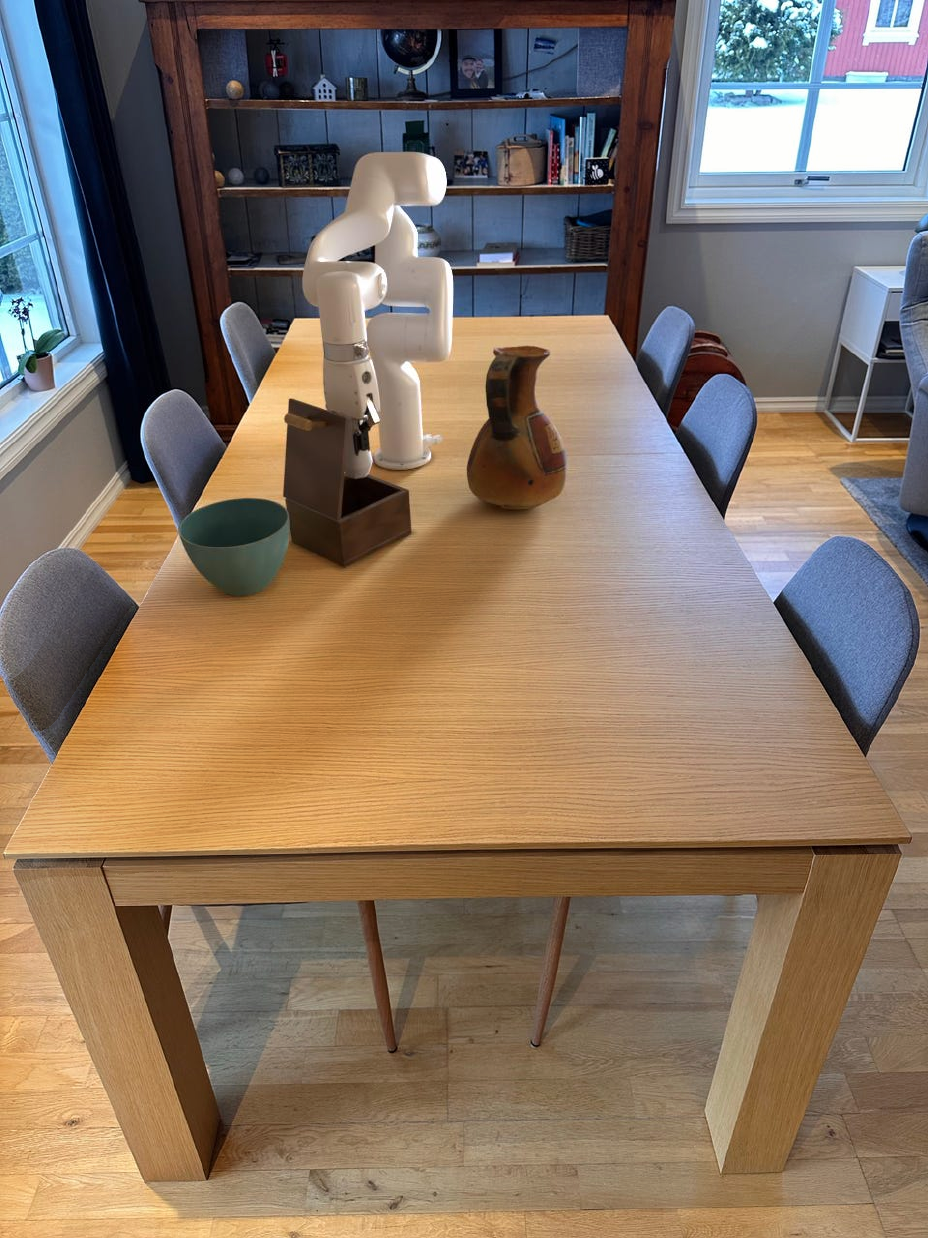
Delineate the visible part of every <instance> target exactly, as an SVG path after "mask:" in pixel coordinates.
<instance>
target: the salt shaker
mask: <svg viewBox="0 0 928 1238" xmlns="http://www.w3.org/2000/svg"><path fill="white" fill-rule="evenodd" d="M339 414H340V415H343V416H346V417H349V416H347V415H345V414H344V413H341V412H340V413H339ZM362 422H363V420H360V425H361V424H362ZM354 434H355V430H354V423H353V418H352V417H349V428H348V440H347V451H346V463H345V473H346V475H347V477H350V478H354V479H357V478H363V477H366V476H367V475H370V471H371V468H372V466H373V462H374V459H373V456H372V452H371V450H370V451H369V452H368V450H366V451H362V450H360V451H359V454H358V456H357V455H356V454H355V450H354V442H353V435H354Z"/></svg>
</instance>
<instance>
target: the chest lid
mask: <svg viewBox="0 0 928 1238" xmlns="http://www.w3.org/2000/svg"><path fill="white" fill-rule="evenodd" d="M287 405H288V406H287V413H286V414H285V415H284V418H283V420H284V423H286V439H285V440H286V442H285V457H284V472H283V473H284V474H283V488H282V489H283V492H282V497H283V498H284V499H286V498H287V499H289V500H292V501H294V502H296V503H298V504H301V505H303V506H305V507H307V508H310V509H312V510H314V511H317V512H319V513H321V514H323V515H326V516H328V517H330V518H333V519H335V520H337V521H338V520H341V510H342V498H343V486H344V475H345V463H346V451H347V440H348V428H349V417H346V416H343V415H340V414H337V413H334V412H331V411H328V410H327V409H326V408H325V409H324V408H322V407H319V406H316V405H312V404H310V403H307V402H305V401H301V400H298V399H295V398H288V404H287Z"/></svg>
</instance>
